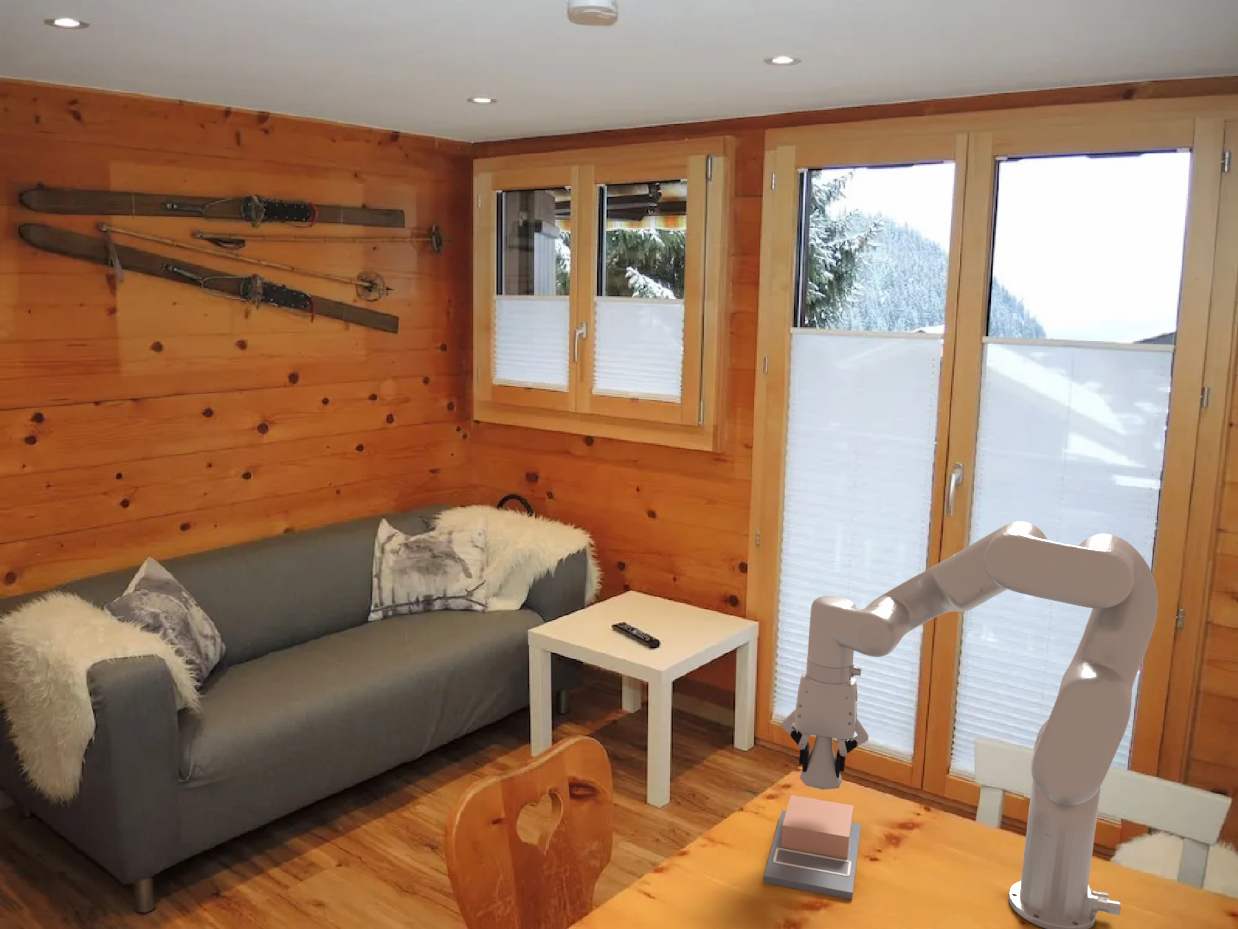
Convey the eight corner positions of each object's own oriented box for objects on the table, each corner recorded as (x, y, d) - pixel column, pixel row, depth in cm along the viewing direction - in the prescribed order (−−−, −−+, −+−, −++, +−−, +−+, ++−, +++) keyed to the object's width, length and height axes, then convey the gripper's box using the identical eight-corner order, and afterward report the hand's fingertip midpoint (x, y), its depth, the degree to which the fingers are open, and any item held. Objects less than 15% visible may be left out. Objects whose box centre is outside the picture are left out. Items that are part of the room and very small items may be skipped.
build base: (860, 830, 180) (862, 803, 180) (852, 899, 160) (854, 869, 159) (781, 816, 184) (783, 789, 183) (763, 882, 164) (765, 853, 163)
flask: (797, 769, 178) (801, 715, 176) (839, 772, 177) (843, 718, 175) (801, 789, 171) (805, 733, 169) (844, 793, 170) (849, 737, 168)
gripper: (882, 669, 172) (873, 770, 175) (781, 656, 176) (774, 754, 179) (880, 686, 164) (871, 790, 168) (775, 671, 169) (768, 772, 172)
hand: (821, 770), depth 174 cm, fingers closed on flask, 4 cm apart
